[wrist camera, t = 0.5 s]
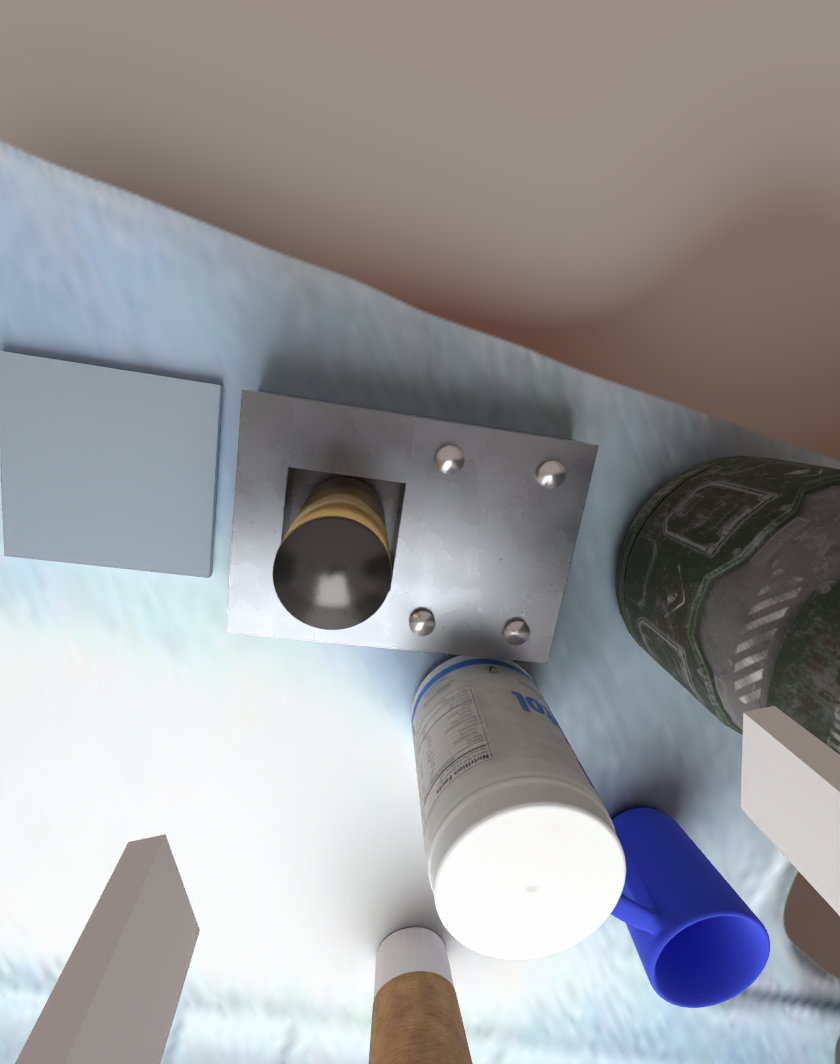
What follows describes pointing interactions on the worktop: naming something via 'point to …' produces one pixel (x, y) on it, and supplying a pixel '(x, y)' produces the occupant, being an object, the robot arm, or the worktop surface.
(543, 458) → the housing
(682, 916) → the mug
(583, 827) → the supplement tub
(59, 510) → the mat
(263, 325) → the worktop surface
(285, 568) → the cylinder
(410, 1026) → the coffee cup
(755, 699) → the canister
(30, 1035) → the robot arm
